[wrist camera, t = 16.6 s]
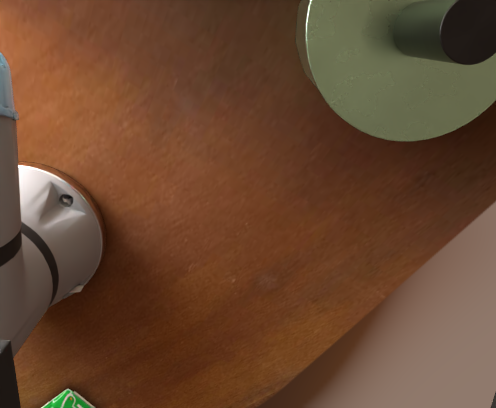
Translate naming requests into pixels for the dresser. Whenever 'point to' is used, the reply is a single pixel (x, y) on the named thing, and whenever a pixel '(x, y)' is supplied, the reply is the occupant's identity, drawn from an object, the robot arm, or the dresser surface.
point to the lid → (403, 63)
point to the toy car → (68, 401)
